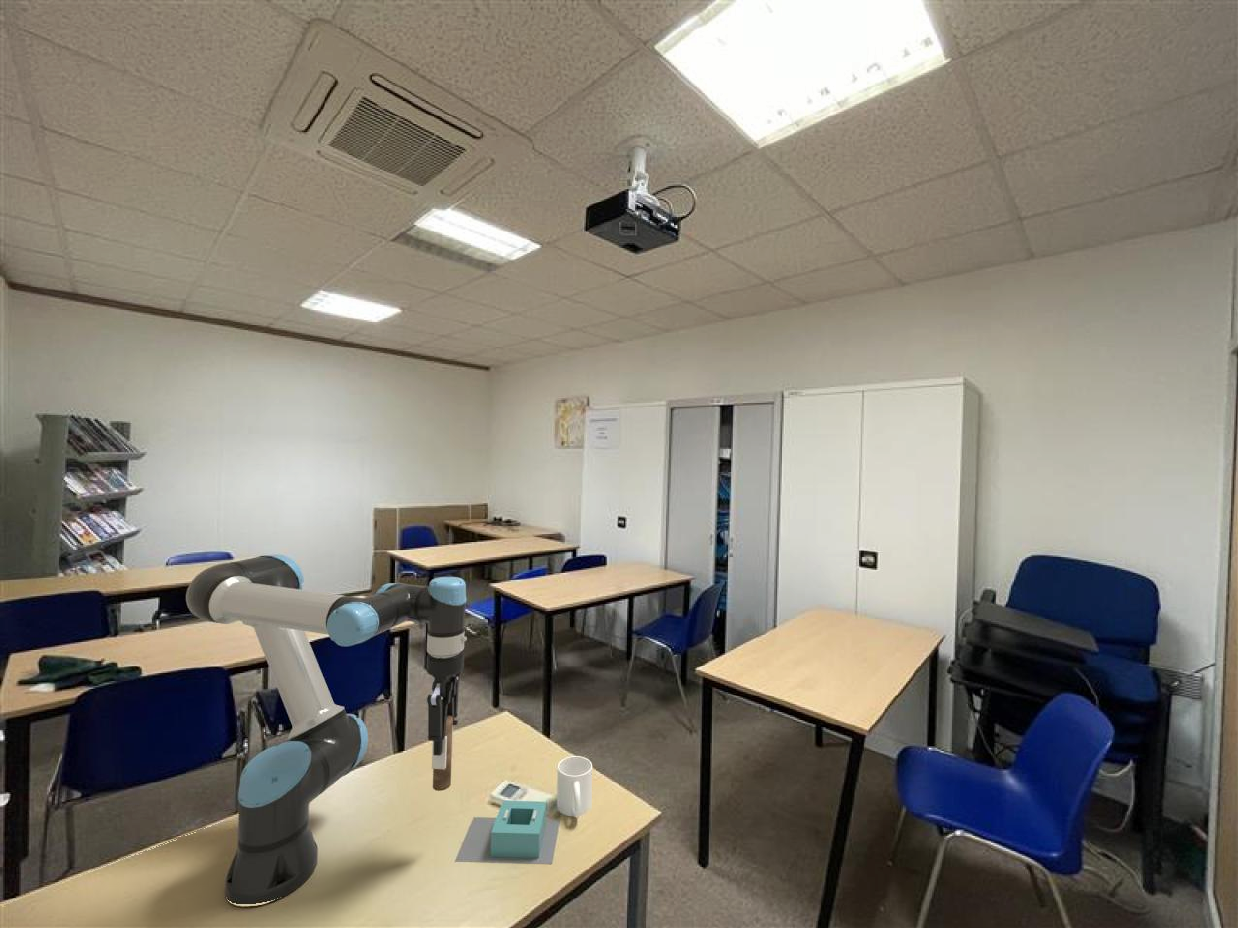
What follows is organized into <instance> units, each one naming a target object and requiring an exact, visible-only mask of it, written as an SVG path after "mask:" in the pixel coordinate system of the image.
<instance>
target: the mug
mask: <svg viewBox="0 0 1238 928" xmlns="http://www.w3.org/2000/svg"><path fill="white" fill-rule="evenodd" d="M556 783H557V784H556V787H557V788H556V791H557V792H556V793H557V794H556V808H557V807H558V808H557V810H558V812H559V813H560V814H562V815H564V816H568V817H574V818H575V819H578V818H580V816H582V815H585V814H586V813H588V811H590V809H591V807H592V798H593V797H592V795H593V794H592V790H593V787H592V785H593V763H592V762H591V760H590V759H588V758H587V757H584V756H582V755H581V756H580V755H572V756H571V755H570V756H567V757H565V758H563V759H561V760H560V761H559V762H558V764H557V782H556Z"/></svg>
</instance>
